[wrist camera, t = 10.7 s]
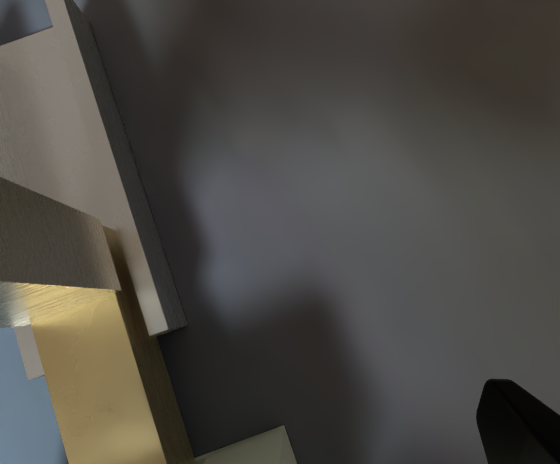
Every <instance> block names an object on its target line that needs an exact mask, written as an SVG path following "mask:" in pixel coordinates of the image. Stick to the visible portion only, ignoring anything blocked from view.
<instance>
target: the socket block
mask: <svg viewBox="0 0 560 464" xmlns="http://www.w3.org/2000/svg"><path fill="white" fill-rule="evenodd" d="M195 461H196V464H297V462H296V459H295V456H294V453H293V450H292V447H291V444H290V441H289V438H288V435H287V433H286V430H285V427H284V425H282V426H280V427H277V428H274V429H272V430H269V431H266V432H264V433H261V434H258V435H255V436H253V437H250V438H247V439H245V440H242V441H239V442H236V443H234V444H231V445H228V446H226V447H223V448H220V449H218V450H215V451H212V452H209V453H207V454H204V455H201V456H199V457H196V458H195Z"/></svg>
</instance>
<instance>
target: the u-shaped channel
mask: <svg viewBox="0 0 560 464" xmlns="http://www.w3.org/2000/svg"><path fill="white" fill-rule="evenodd" d="M45 1H46V5H47V8H48V11H49V14H50V17H51V21H52V24H53V27H52V28H49V29H46V30H44V31H41V32H38V33H35V34H32V35H30V36H27V37H24V38H21V39H18V40H15V41H13V42H10V43H7V44H4V45H1V46H0V177H2V178H4V179H6V180H9V181H11V182H13V183H16V184H18V185H21V186H23V187H25V188H28V189H30V190H32V191H35V192H37V193H39V194H42V195H44V196H47V197H49V198H51V199H54V200H56V201H58V202H61V203H63V204H65V205H68V206H70V207H72V208H75V209H77V210H80V211H82V212H84V213H87V214H89V215H91V216H94V217H96V218H98V219H100V221H101V224H102V225H103V226H105V227H108V228H110V229H113V230H115V231H117V233H118V236H119V239H120V243H121V246H122V249H123V252H124V255H125V259H126V262H127V265H128V268H129V272H130V275H131V278H132V281H133V284H134V288H135V291H136V294H137V297H138V300H139V304H140V307H141V310H142V313H143V317H144V320H145V323H146V326H147V329H148V333H149V336H152V335H156V337H157V336H160V335H163V334H165V333H168V332H171V331H174V330H176V329H179V328H182V327H185V326H187V325H188V324H187V321H186V318H185V315H184V312H183V309H182V306H181V302H180V299H179V296H178V293H177V290H176V287H175V284H174V281H173V278H172V275H171V272H170V269H169V265H168V262H167V259H166V256H165V253H164V250H163V247H162V244H161V241H160V238H159V235H158V232H157V229H156V225H155V222H154V219H153V216H152V213H151V210H150V207H149V204H148V201H147V198H146V195H145V192H144V188H143V185H142V182H141V179H140V176H139V173H138V170H137V167H136V164H135V161H134V158H133V155H132V152H131V148H130V145H129V142H128V139H127V136H126V133H125V130H124V127H123V124H122V121H121V118H120V115H119V111H118V108H117V105H116V102H115V99H114V96H113V93H112V90H111V87H110V84H109V81H108V78H107V75H106V71H105V68H104V65H103V62H102V59H101V56H100V53H99V50H98V47H97V44H96V41H95V38H94V34H93V31H92V28H91V25H90V22H89V21H88V20H87V18H86V17H85V16H84V14H83V13H82V12H81V10H80V9H79V7H78V6H77V5H76V3H75V2H74V1H73V0H45ZM14 330H15V334H16V337H17V341H18V345H19V349H20V352H21V356H22V360H23V364H24V367H25V371H26V375H27V379H28V380H31V379H35V378H38V377H42V376H45V375H44V371H43V367H42V364H41V360H40V356H39V353H38V349H37V345H36V342H35V338H34V334H33V331H32V327H31V324H28V325H25V326H19V327H14Z"/></svg>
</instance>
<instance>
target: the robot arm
mask: <svg viewBox="0 0 560 464" xmlns="http://www.w3.org/2000/svg"><path fill="white" fill-rule="evenodd" d="M476 420H477V426H478V429H479V433H480V436H481V440H482V443H483V447H484V450H485V454H486V457H487V461H488V464H560V415H559V414H557V413H556V412H555V411H553V410H552V409H550V408H549V407H548V406H546V405H545V404H544V403H542V402H541V401H540V400H538V399H537V398H535V397H534V396H533V395H531V394H530V393H529V392H527V391H526V390H524V389H523V388H522V387H520V386H519V385H518V384H516V383H515V382H513V381H512V380H508V379H489V380H487V381H486V383H485V385H484V388H483V391H482V395H481V398H480V402H479V405H478V409H477V414H476Z"/></svg>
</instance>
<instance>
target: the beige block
mask: <svg viewBox="0 0 560 464" xmlns="http://www.w3.org/2000/svg"><path fill="white" fill-rule="evenodd" d="M28 324H31V327H32V331H33V334H34V338H35V342H36V345H37V349H38V353H39V356H40V360H41V364H42V367H43V371H44V375H45V378H46V382H47V386H48V389H49V393H50V397H51V400H52V404H53V408H54V411H55V415H56V419H57V422H58V426H59V430H60V433H61V437H62V441H63V444H64V448H65V452H66V455H67V459H68V463H69V464H196V461H195V458H194V455H193V452H192V449H191V445H190V442H189V439H188V436H187V433H186V429H185V426H184V423H183V420H182V417H181V413H180V410H179V407H178V404H177V401H176V398H175V394H174V391H173V388H172V385H171V382H170V378H169V375H168V372H167V369H166V366H165V362H164V359H163V356H162V353H161V350H160V346H159V343H158V340H157V337H156V335H152V336H149V333H148V329H147V326H146V323H145V320H144V317H143V313H142V310H141V307H140V304H139V300H138V297H137V294H136V291H135V288H134V284H133V281H132V278H131V275H130V272H129V268H128V265H127V262H126V259H125V255H124V252H123V249H122V246H121V243H120V239H119V236H118V233H117V231H115V230H113V229H110V228H108V227H105V226H103V225H102V224H101V221H100V219H98V218H96V217H94V216H91V215H89V214H87V213H84V212H82V211H80V210H77V209H75V208H72V207H70V206H68V205H65V204H63V203H61V202H58V201H56V200H54V199H51V198H49V197H47V196H44V195H42V194H39V193H37V192H35V191H32V190H30V189H28V188H25V187H23V186H21V185H18V184H16V183H13V182H11V181H9V180H6V179H4V178H2V177H0V328H7V327H19V326H25V325H28Z"/></svg>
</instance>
